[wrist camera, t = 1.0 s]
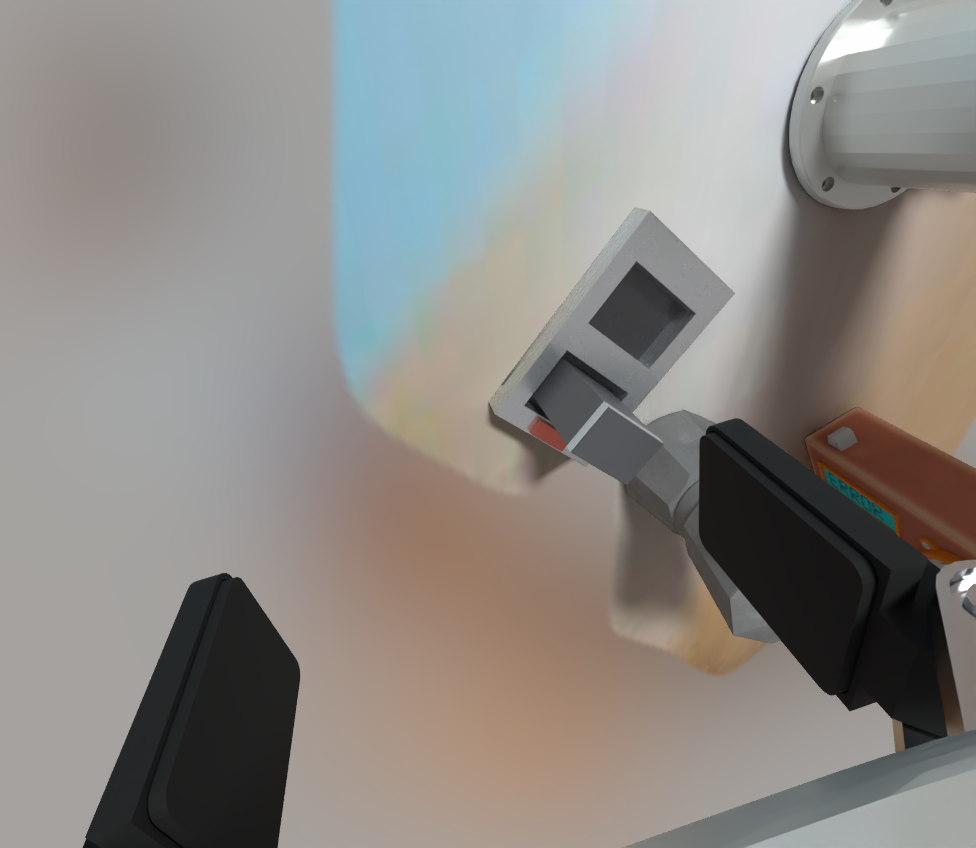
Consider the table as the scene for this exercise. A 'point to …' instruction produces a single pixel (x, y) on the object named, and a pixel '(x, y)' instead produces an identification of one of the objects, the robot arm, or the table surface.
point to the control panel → (900, 483)
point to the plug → (595, 422)
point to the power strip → (618, 323)
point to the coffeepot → (691, 514)
